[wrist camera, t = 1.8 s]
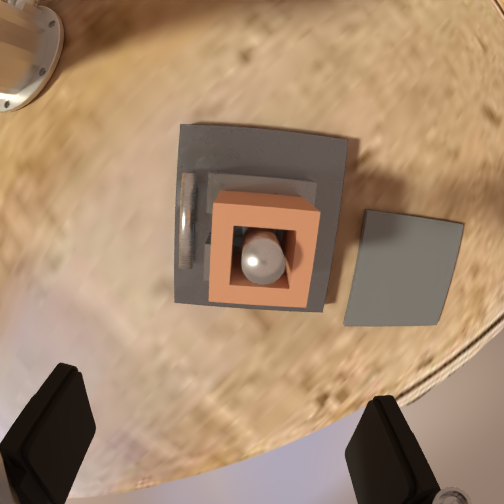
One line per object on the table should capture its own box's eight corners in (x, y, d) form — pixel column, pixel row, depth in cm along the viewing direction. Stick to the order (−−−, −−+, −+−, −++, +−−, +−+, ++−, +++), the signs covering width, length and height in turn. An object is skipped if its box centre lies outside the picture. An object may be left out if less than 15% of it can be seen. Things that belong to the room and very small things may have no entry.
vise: (183, 125, 26) (143, 109, 15) (342, 140, 26) (401, 136, 15) (177, 295, 31) (147, 367, 20) (319, 305, 31) (351, 378, 20)
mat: (365, 209, 28) (367, 210, 28) (460, 223, 29) (463, 224, 28) (343, 323, 32) (344, 326, 31) (434, 322, 32) (436, 325, 32)
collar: (221, 190, 23) (213, 202, 17) (302, 197, 23) (320, 211, 18) (216, 267, 25) (208, 301, 19) (292, 272, 25) (305, 307, 19)
